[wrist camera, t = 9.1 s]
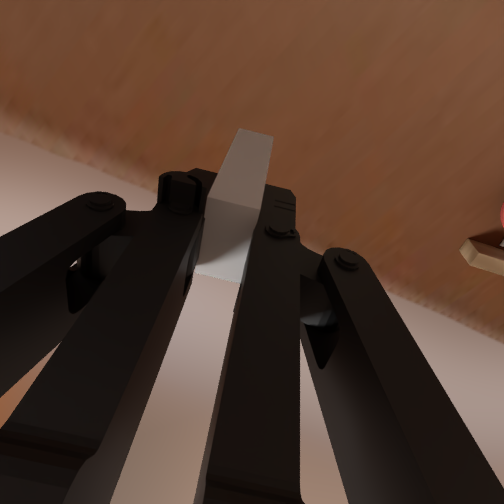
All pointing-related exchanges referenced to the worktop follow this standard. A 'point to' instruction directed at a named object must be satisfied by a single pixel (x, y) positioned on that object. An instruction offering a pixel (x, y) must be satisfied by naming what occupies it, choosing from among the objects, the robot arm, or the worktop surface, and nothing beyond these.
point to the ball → (502, 214)
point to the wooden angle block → (483, 256)
